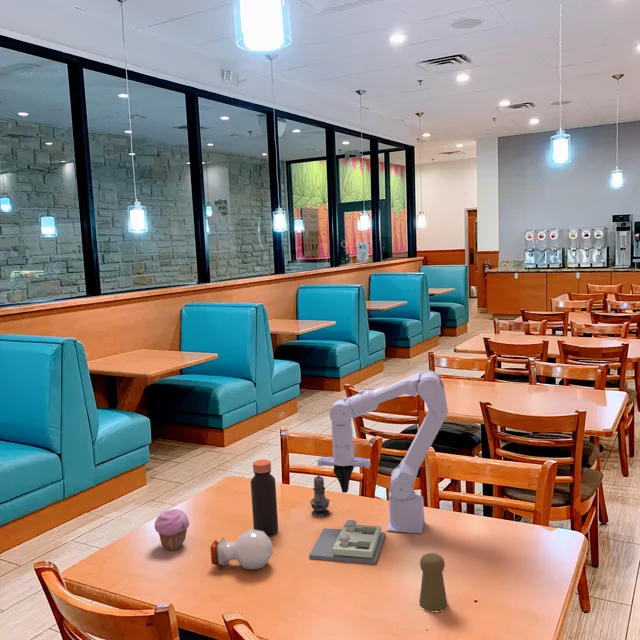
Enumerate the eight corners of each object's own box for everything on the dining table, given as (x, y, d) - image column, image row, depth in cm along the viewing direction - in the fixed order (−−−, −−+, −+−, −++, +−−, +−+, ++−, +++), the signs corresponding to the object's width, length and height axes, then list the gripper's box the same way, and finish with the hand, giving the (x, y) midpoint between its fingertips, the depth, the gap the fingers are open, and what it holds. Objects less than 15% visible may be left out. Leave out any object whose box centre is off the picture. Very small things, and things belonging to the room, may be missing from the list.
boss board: (309, 558, 156) (308, 540, 156) (324, 531, 170) (323, 514, 170) (376, 564, 152) (375, 545, 151) (385, 535, 166) (384, 518, 166)
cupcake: (150, 550, 165) (146, 514, 163) (172, 536, 172) (169, 502, 171) (176, 557, 160) (172, 520, 159) (197, 542, 168) (194, 507, 167)
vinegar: (280, 526, 175) (276, 458, 173) (276, 537, 169) (271, 466, 166) (256, 526, 176) (252, 458, 174) (251, 537, 169) (246, 467, 167)
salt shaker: (328, 517, 179) (326, 477, 178) (308, 516, 180) (306, 477, 179) (332, 509, 185) (330, 470, 183) (312, 508, 186) (310, 469, 185)
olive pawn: (416, 597, 137) (414, 550, 135) (443, 595, 137) (441, 548, 136) (423, 613, 131) (421, 564, 129) (451, 611, 131) (449, 562, 130)
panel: (332, 554, 155) (332, 548, 155) (344, 529, 168) (344, 523, 168) (372, 558, 152) (371, 551, 152) (381, 531, 166) (380, 526, 166)
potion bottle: (276, 575, 152) (218, 580, 154) (278, 538, 159) (223, 543, 161) (265, 557, 146) (205, 563, 148) (268, 519, 153) (211, 525, 155)
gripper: (371, 440, 173) (373, 486, 175) (320, 438, 177) (323, 484, 178) (366, 448, 166) (369, 496, 168) (314, 447, 170) (317, 494, 172)
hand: (345, 491), depth 173 cm, fingers closed
